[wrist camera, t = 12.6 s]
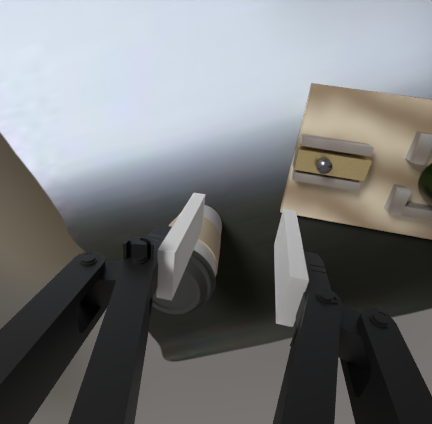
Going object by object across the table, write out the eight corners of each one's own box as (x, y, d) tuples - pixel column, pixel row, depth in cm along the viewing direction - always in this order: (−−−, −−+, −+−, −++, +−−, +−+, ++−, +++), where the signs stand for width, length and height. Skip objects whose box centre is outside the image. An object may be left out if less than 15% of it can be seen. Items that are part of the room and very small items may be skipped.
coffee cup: (238, 210, 41) (223, 277, 28) (218, 258, 45) (197, 335, 32) (179, 188, 41) (136, 244, 28) (164, 237, 45) (121, 306, 32)
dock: (311, 83, 32) (315, 84, 30) (541, 114, 30) (569, 119, 27) (280, 208, 40) (281, 218, 37) (463, 241, 37) (479, 255, 35)
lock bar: (297, 145, 34) (300, 152, 31) (366, 155, 34) (375, 164, 31) (292, 164, 35) (294, 172, 32) (358, 175, 35) (367, 184, 32)
